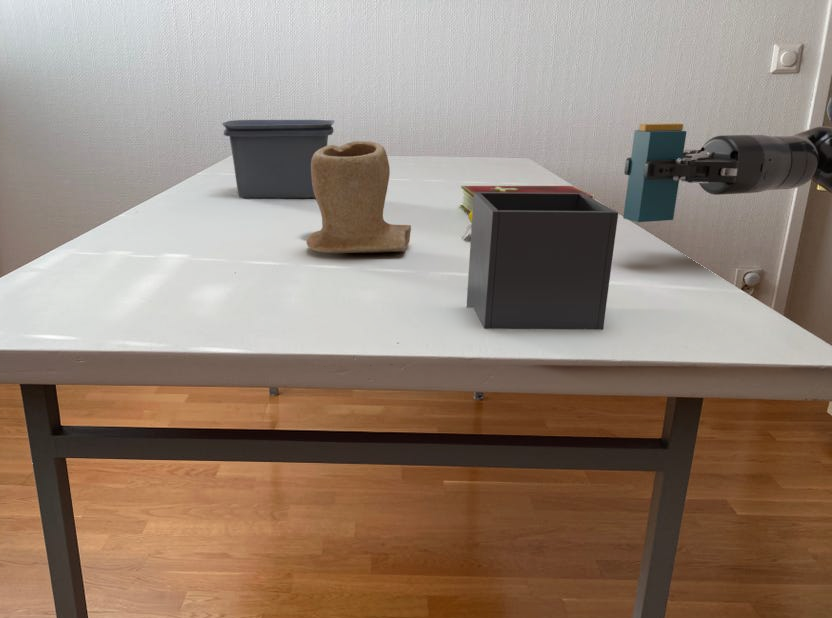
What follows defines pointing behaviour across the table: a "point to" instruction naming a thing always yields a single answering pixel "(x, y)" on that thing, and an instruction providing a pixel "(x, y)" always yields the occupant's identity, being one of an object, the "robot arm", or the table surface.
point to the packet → (653, 195)
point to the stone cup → (354, 200)
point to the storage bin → (275, 155)
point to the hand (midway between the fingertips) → (636, 168)
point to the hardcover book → (469, 191)
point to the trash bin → (540, 260)
